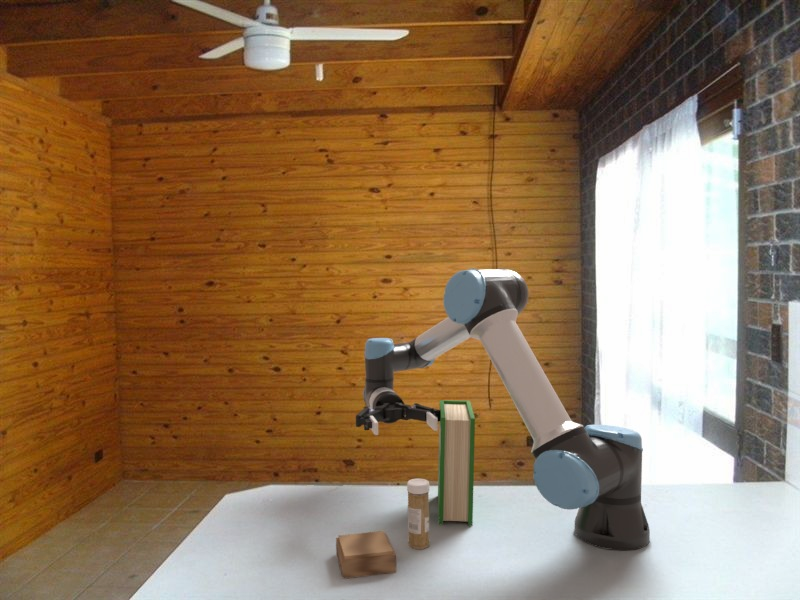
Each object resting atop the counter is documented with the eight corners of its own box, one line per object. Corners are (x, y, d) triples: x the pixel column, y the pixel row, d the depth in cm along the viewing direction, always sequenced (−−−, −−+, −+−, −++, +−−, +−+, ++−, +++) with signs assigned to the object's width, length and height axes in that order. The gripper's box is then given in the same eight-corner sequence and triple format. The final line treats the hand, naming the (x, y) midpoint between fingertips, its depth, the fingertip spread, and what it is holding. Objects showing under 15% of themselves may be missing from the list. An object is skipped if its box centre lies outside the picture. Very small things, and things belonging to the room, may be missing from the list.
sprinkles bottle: (434, 546, 130) (433, 482, 129) (415, 552, 127) (415, 486, 127) (421, 538, 134) (420, 476, 133) (403, 544, 131) (402, 480, 130)
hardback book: (472, 525, 140) (475, 418, 139) (438, 524, 140) (441, 417, 139) (467, 496, 158) (469, 400, 156) (437, 495, 158) (439, 400, 157)
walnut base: (385, 548, 129) (385, 529, 129) (396, 572, 119) (395, 551, 119) (336, 554, 127) (336, 534, 126) (343, 578, 117) (342, 557, 117)
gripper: (434, 416, 162) (460, 439, 141) (338, 423, 157) (350, 448, 136) (434, 387, 162) (460, 406, 141) (337, 393, 156) (350, 413, 135)
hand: (406, 426), depth 138 cm, fingers open, 13 cm apart
